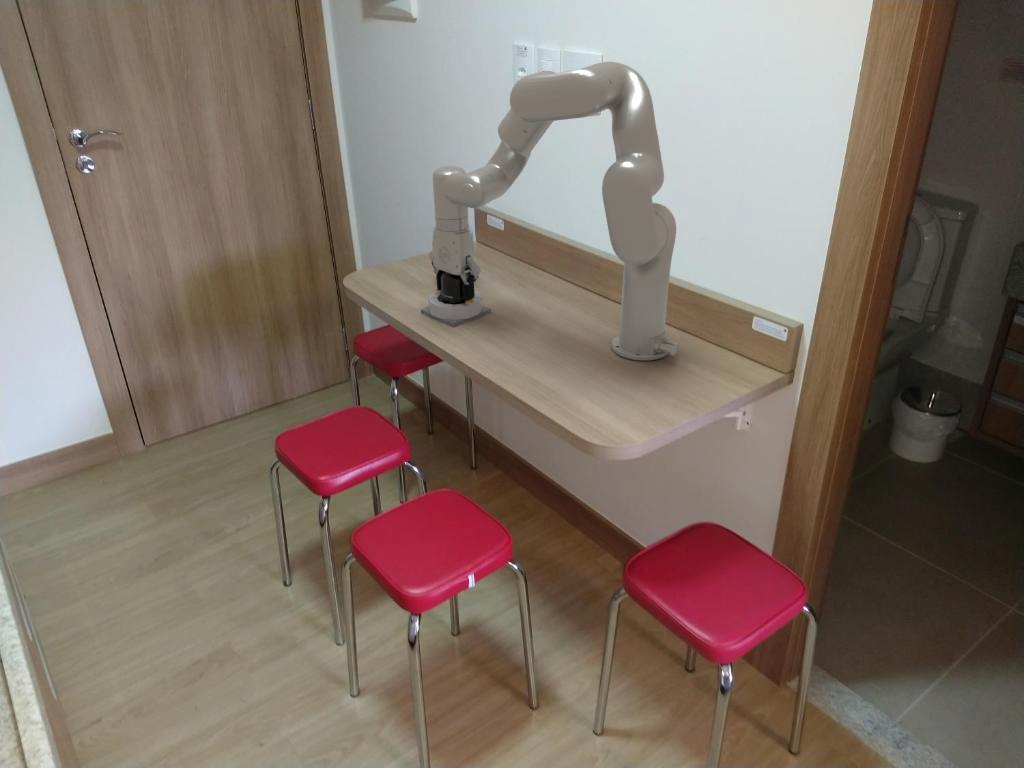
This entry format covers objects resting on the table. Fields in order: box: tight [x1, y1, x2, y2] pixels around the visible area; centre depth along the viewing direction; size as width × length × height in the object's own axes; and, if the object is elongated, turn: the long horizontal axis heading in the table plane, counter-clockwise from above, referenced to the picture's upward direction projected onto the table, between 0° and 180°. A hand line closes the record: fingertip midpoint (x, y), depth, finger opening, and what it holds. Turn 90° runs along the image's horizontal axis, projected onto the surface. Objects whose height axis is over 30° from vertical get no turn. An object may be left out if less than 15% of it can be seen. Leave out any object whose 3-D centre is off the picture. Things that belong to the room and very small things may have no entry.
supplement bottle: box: [441, 268, 470, 305], centre depth 188 cm, size 7×7×12 cm
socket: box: [420, 288, 492, 328], centre depth 190 cm, size 12×12×5 cm
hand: (455, 293), depth 189 cm, fingers open, 8 cm apart
